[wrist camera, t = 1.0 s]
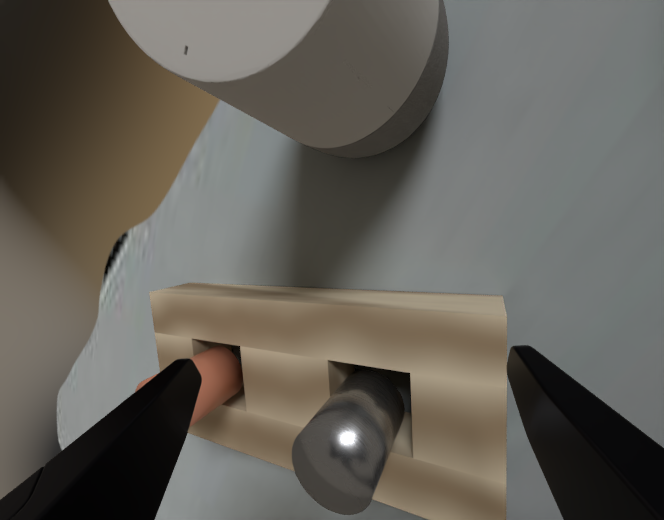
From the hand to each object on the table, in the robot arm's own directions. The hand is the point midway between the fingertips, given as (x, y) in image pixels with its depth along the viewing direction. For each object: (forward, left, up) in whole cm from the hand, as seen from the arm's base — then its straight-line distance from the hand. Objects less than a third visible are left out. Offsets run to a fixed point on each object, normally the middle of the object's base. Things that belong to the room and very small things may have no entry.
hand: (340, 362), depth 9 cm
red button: (-7, +14, -9) cm, 18 cm away
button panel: (-7, +8, -12) cm, 16 cm away
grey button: (-7, +2, -9) cm, 11 cm away
